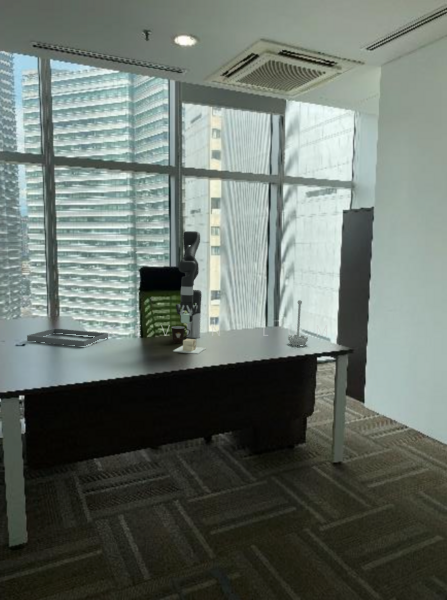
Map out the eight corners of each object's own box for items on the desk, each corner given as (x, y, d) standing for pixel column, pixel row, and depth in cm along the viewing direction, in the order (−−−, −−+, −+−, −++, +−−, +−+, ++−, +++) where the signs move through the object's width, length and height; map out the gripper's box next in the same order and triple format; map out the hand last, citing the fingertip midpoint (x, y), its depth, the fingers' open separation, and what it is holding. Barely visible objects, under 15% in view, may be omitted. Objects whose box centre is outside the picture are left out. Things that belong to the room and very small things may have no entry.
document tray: (54, 333, 310) (54, 328, 310) (108, 339, 298) (108, 333, 298) (27, 341, 284) (27, 335, 284) (84, 347, 272) (84, 341, 272)
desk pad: (182, 346, 283) (182, 345, 283) (205, 349, 279) (205, 348, 279) (173, 351, 270) (173, 350, 270) (198, 354, 266) (198, 353, 265)
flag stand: (305, 347, 293) (308, 301, 289) (286, 345, 297) (288, 300, 293) (308, 343, 305) (311, 299, 301) (289, 341, 309) (291, 298, 306)
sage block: (184, 321, 275) (184, 313, 275) (191, 322, 274) (191, 314, 273) (180, 322, 271) (181, 314, 270) (188, 323, 269) (188, 315, 268)
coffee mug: (169, 342, 293) (169, 327, 292) (174, 340, 301) (174, 325, 300) (185, 344, 290) (185, 329, 289) (190, 341, 298) (190, 327, 297)
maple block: (186, 348, 277) (186, 338, 276) (195, 349, 275) (195, 339, 275) (182, 350, 271) (183, 340, 271) (192, 351, 270) (192, 341, 269)
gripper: (200, 294, 272) (199, 321, 273) (178, 292, 276) (178, 319, 278) (195, 295, 265) (195, 323, 266) (173, 293, 269) (173, 321, 271)
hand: (186, 321), depth 272 cm, fingers closed on sage block, 5 cm apart
